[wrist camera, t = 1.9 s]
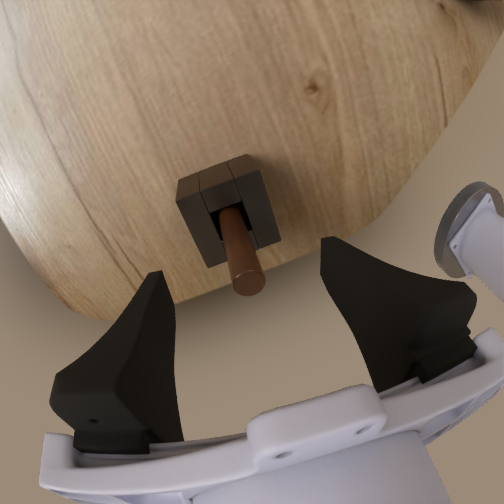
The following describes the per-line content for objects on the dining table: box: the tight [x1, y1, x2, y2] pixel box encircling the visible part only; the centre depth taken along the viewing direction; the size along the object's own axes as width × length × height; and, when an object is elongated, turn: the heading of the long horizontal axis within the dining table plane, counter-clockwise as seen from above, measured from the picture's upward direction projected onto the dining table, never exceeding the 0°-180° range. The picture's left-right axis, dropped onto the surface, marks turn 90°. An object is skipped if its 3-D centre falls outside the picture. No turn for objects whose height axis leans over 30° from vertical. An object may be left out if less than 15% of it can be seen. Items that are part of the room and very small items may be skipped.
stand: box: [176, 154, 281, 268], centre depth 19 cm, size 5×5×4 cm
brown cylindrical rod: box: [217, 203, 266, 296], centre depth 17 cm, size 1×1×10 cm
